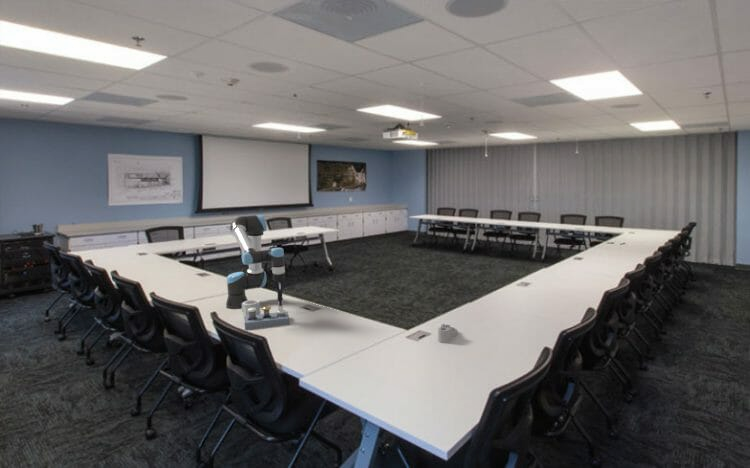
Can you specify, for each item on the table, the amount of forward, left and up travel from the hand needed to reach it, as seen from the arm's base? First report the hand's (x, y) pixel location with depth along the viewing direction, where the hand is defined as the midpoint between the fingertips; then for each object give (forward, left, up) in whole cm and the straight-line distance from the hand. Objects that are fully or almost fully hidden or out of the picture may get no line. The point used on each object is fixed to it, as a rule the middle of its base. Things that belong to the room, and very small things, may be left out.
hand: (280, 310), depth 257 cm
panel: (0, -9, -7) cm, 11 cm away
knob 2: (0, 0, -7) cm, 7 cm away
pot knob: (0, -9, -3) cm, 9 cm away
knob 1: (0, -17, -3) cm, 17 cm away
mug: (-18, -19, -8) cm, 27 cm away
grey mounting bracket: (+59, +85, -8) cm, 104 cm away
